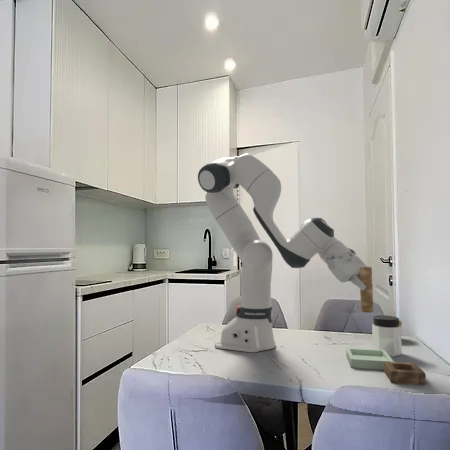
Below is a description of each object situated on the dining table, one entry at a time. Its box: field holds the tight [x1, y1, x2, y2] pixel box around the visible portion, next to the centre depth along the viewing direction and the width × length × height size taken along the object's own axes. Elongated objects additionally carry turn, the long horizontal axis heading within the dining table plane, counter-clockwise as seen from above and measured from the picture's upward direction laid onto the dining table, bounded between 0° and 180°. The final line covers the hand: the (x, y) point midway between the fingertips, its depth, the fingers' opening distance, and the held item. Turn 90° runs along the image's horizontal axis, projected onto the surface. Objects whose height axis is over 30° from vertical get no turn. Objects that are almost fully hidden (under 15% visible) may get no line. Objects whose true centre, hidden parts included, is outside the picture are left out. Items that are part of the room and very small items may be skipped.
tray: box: [345, 347, 395, 371], centre depth 108 cm, size 12×12×2 cm
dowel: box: [359, 266, 374, 314], centre depth 110 cm, size 4×4×14 cm
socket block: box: [383, 361, 427, 386], centre depth 95 cm, size 8×8×3 cm
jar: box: [371, 314, 403, 358], centre depth 118 cm, size 9×8×12 cm
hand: (368, 288), depth 109 cm, fingers closed on dowel, 4 cm apart
